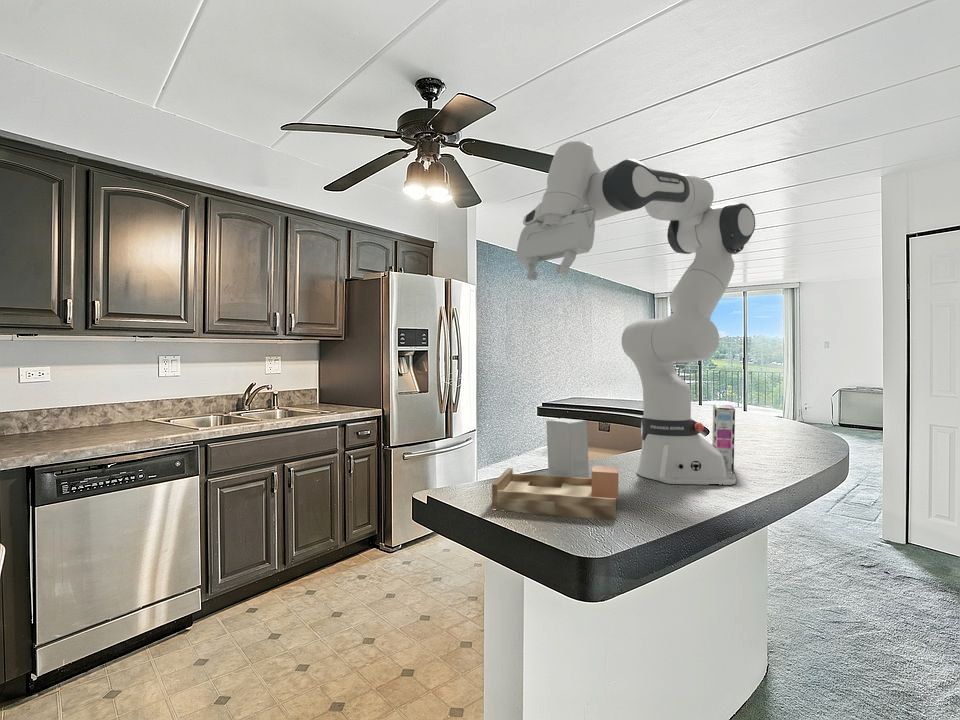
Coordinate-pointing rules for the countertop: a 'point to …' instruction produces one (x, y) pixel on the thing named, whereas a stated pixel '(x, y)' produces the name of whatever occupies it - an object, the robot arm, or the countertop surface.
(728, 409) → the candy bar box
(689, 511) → the countertop surface
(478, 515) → the countertop surface
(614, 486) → the block
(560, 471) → the skincare box
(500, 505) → the wooden tray
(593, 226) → the robot arm
